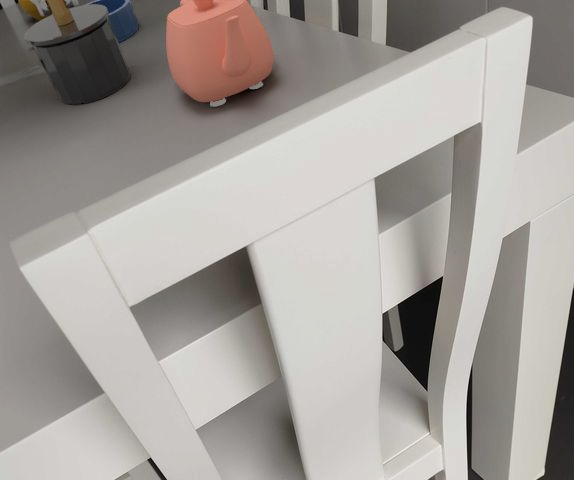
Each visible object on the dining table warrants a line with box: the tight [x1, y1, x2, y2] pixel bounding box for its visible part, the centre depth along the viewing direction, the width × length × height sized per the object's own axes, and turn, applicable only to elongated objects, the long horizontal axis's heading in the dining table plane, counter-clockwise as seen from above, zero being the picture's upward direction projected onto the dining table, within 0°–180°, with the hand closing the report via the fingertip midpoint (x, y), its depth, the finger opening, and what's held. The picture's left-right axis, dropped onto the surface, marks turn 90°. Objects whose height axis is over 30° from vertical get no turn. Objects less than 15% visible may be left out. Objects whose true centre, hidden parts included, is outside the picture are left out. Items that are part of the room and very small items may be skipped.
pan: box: [85, 0, 140, 43], centre depth 106 cm, size 12×12×4 cm
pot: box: [31, 17, 132, 105], centre depth 90 cm, size 12×12×8 cm
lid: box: [23, 0, 109, 46], centre depth 85 cm, size 13×13×6 cm
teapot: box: [165, 0, 275, 103], centre depth 77 cm, size 13×20×12 cm, turn 27°
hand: (60, 10), depth 85 cm, fingers closed on lid, 2 cm apart
